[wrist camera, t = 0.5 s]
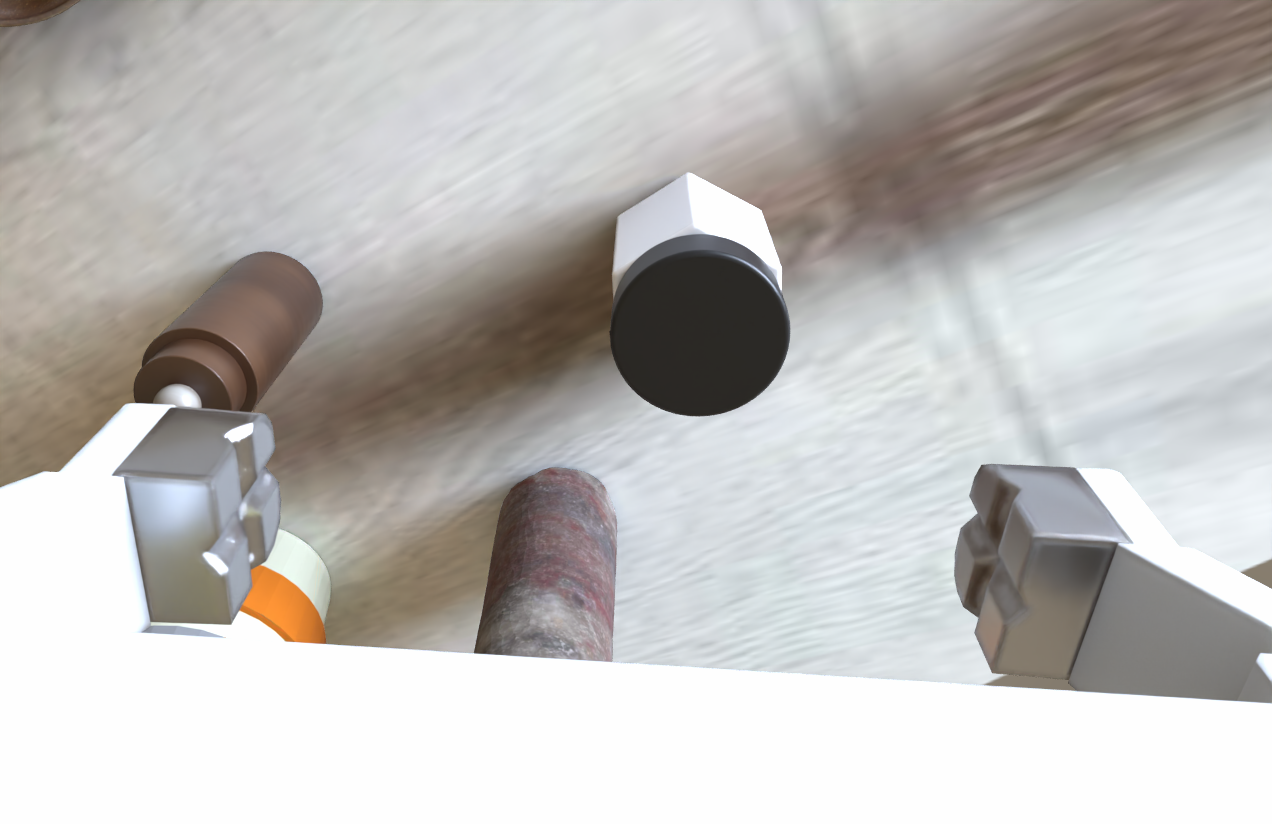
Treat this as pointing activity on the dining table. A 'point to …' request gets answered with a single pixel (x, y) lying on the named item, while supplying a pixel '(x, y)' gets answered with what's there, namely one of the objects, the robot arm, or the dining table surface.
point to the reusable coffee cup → (275, 600)
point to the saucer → (31, 11)
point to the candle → (552, 571)
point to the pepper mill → (233, 337)
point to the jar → (697, 300)
